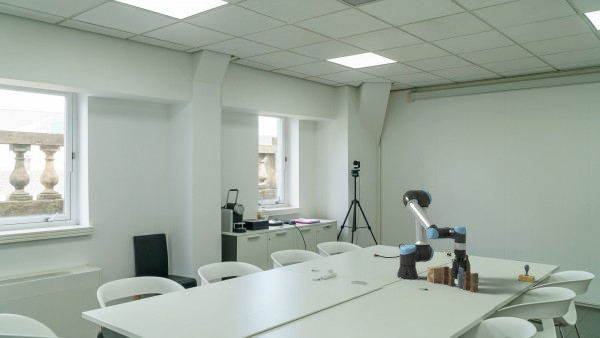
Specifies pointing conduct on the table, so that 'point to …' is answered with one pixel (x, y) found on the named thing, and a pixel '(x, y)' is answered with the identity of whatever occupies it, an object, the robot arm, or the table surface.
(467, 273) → the domino
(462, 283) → the domino
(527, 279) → the rubber stamp
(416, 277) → the robot arm
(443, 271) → the domino
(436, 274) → the end block
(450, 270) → the domino
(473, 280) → the domino
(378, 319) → the table surface
